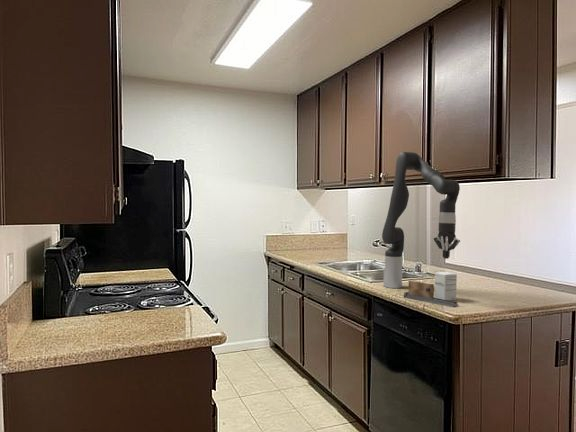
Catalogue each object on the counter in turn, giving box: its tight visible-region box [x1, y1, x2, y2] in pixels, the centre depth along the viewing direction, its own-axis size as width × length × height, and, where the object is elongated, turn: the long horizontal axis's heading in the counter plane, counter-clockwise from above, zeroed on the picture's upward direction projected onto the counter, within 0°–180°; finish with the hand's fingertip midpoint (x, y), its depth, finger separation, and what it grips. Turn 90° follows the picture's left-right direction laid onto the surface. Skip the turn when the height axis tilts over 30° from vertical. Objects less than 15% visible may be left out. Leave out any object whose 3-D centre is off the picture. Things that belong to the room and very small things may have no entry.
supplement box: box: [434, 271, 458, 301], centre depth 208 cm, size 7×7×13 cm
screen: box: [408, 280, 435, 299], centre depth 205 cm, size 13×2×7 cm, turn 40°
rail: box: [403, 290, 459, 308], centre depth 202 cm, size 26×4×2 cm, turn 40°
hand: (446, 258), depth 203 cm, fingers closed
